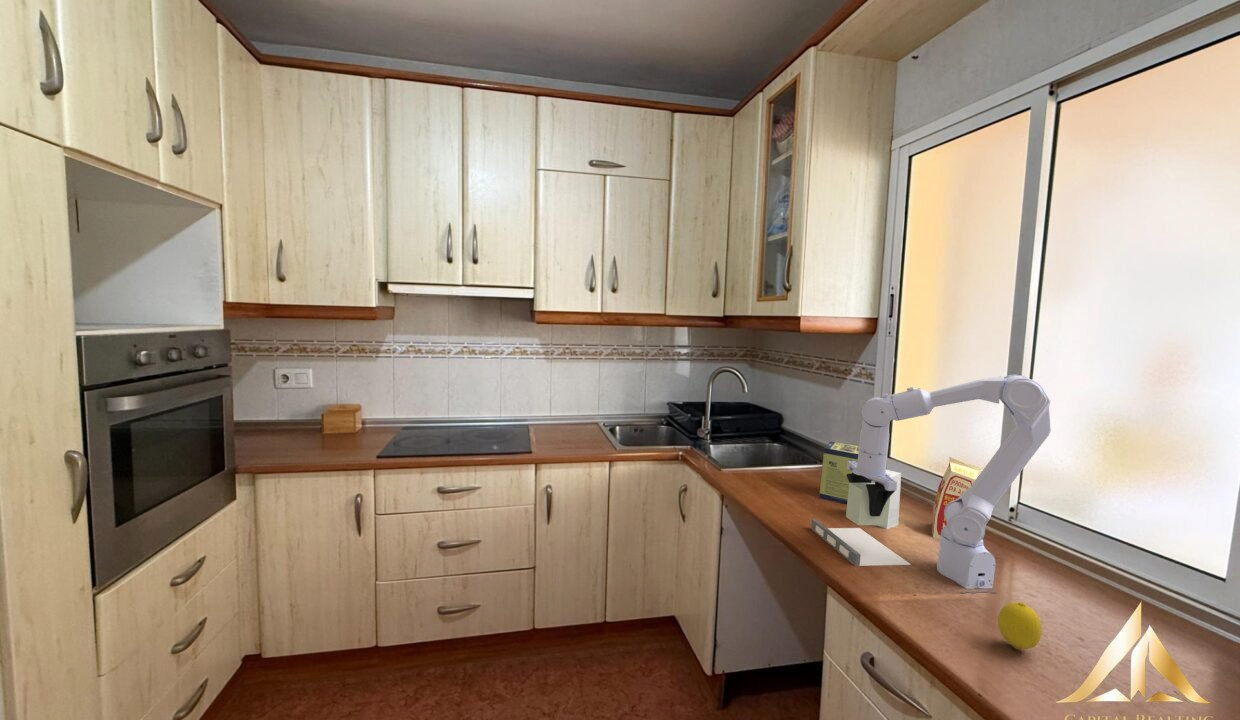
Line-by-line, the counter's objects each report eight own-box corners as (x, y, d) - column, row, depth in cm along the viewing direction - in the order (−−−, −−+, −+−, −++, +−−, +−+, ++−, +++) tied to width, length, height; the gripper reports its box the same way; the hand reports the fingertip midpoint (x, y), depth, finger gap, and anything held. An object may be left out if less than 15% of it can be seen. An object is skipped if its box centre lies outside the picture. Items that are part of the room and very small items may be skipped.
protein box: (876, 511, 139) (882, 457, 137) (818, 498, 147) (823, 447, 145) (879, 500, 147) (885, 449, 146) (824, 488, 155) (828, 440, 154)
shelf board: (910, 569, 106) (912, 553, 106) (853, 571, 104) (855, 554, 104) (858, 532, 124) (860, 518, 123) (809, 533, 122) (811, 519, 121)
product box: (887, 525, 109) (891, 490, 108) (858, 525, 108) (861, 490, 107) (872, 515, 114) (876, 482, 113) (844, 516, 113) (848, 482, 112)
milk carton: (933, 537, 123) (942, 459, 121) (929, 524, 131) (938, 451, 129) (977, 547, 119) (987, 466, 117) (971, 533, 127) (980, 457, 125)
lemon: (1018, 638, 84) (1024, 593, 83) (1047, 661, 79) (1054, 613, 78) (987, 637, 84) (992, 592, 83) (1014, 660, 78) (1020, 612, 78)
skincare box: (898, 529, 127) (904, 473, 125) (885, 534, 124) (891, 476, 122) (866, 517, 134) (872, 464, 132) (854, 521, 130) (859, 467, 129)
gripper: (837, 442, 116) (832, 498, 118) (877, 461, 102) (871, 524, 103) (865, 443, 117) (859, 498, 119) (908, 461, 103) (901, 524, 104)
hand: (866, 510), depth 111 cm, fingers closed on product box, 5 cm apart
